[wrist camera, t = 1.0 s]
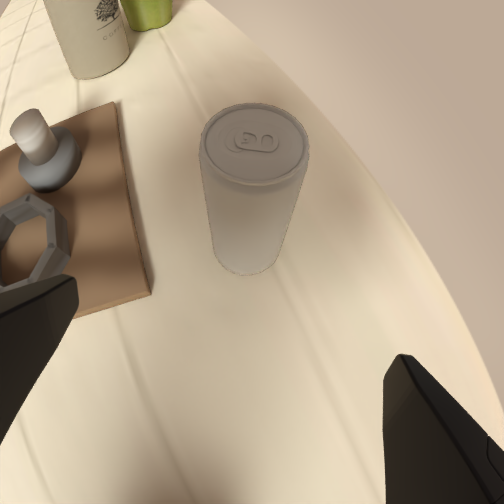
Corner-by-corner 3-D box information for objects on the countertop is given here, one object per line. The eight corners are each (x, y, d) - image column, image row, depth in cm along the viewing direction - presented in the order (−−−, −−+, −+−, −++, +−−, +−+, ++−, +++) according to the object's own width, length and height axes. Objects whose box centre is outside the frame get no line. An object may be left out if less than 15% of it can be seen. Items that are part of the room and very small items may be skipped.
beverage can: (219, 214, 25) (209, 96, 14) (281, 221, 25) (312, 108, 14) (209, 273, 23) (185, 179, 12) (276, 282, 23) (311, 194, 12)
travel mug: (61, 75, 32) (18, -35, 15) (103, 42, 34) (76, -64, 17) (97, 87, 30) (54, -45, 14) (142, 50, 33) (120, -73, 16)
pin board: (151, 294, 22) (115, 259, 16) (-10, 343, 20) (-69, 327, 13) (116, 109, 29) (96, 54, 22) (-7, 164, 26) (-41, 123, 19)
